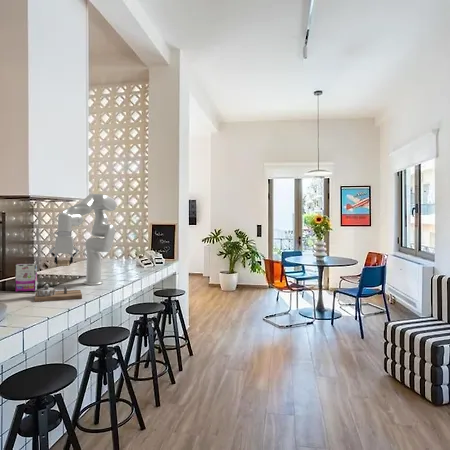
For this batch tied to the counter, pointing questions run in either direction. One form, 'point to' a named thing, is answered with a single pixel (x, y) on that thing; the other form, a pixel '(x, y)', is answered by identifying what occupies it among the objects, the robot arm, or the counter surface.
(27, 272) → the candy bar box
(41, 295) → the gear board
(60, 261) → the wooden gear
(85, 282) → the robot arm
